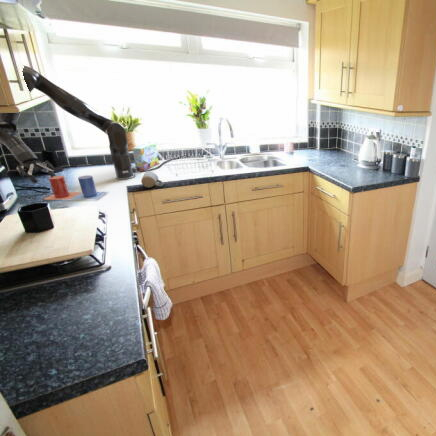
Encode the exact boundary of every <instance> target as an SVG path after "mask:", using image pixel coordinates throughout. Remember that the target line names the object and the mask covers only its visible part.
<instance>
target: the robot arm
mask: <svg viewBox="0 0 436 436" xmlns="http://www.w3.org/2000/svg"><path fill="white" fill-rule="evenodd" d="M23 66H24V68H23V71H22V72H23V76H24V80H25V82H26V84H27V87H28V89H29V91H30V93H32V91H34V89H35V90H37V91H39V92H41V93H42V94H43V95H45V96H47V97H48V98H49V99H50V100H51V101H52V102H54V104H56V105H57V106H58V107H59V108H60V109H62V110H64V111H65V112H67V113H68V114H70V115H72V116H73V117H76V118H78V119H79V120H81V121H84V122H86V123H89V124H91V125H92V126H94V127H96V128H97V129H99V130H100V131H102V132H103V133H104V134H106V135H107V138H108V142H109V143H108V144H109V146H108V147H109V152H110V156H111V160H112V165H113V168H114V173H115V178H116V179H117V180H129V179H132V178H134V177H135V175H134V174H136V173H137V171H138V172H139V173H146V172H152V171H155V170H157V169H159V168H160V167H162V166H163V165H164V164H165V163H167V162H169V161H173V160H178V159H181V158H184V157H187V158H188V157H189V156H188V155H187V154H184V155H181V156H178V157H173V158H170V159H168V160H166V161H163V162H162V163H161V164H159V165H158V166H157V167H156V166H155V167H153V168H149V169H146V170H144V171H140V170H137V169H136V167H133V165H132V161H131V156H130V152H129V147H128V146H129V142H128V137H127V133H126V128H125V127H124V126H123V124H121V123H119V122H117V121H114V120H112V119H110V118H108V117H106V116H104V115H103V114H100V112H98V111H97V110H95V109H94V108H93V107H92V106H90V105H89V104H88V103H87V102H85V101H83V100H82V99H80V98H78V97H77V96H75V95H74V94H71V93H70V92H68V91H67V90H66V89H64V88H62V87H60V86H58V85H57V84H56V83H53V82H52V81H51V80H50V79H48V78H46V77H45V76H43V75H42V74H41V73H40V72H38V71H37V70H35V69H34V68H32V67H30V66H27V65H23ZM21 114H22V111H21V112H19V113H0V121H2V122H0V143H1V144H3V145H4V146H5V147H6V148H7V150H9V152H10V153H11V155H12V156H13V157H14V158H15V160H16V161H17V162H18V163H19V164H20V165H19V164H18V165H17V166H16V168H15V169H16V171H17V172H18V173H19V175H20V176H21V177H22V178H23V179H24V178H28V179H29V180H30V181H31V183H34V184H37V183H38V180H37V178H36V177H35V176H34V175H33V173H41V172H43V173H46V174H48V175H49V177H53V176H57V175H56V174H55V173H54V172H55V170H56V168H55V166H54V165H53V164H52V163H51V162H50V161H49V160H45V161H43V162H42V161H41V160H40V158H39V157H38V156H37V155H36V154H35V153H34V151H33V150H31V148H30V147H29V146H27V144H26V143H25V142H24V141H23V140H22V138H20V137H19V136H17V133H18V120H19V118H20V116H21ZM25 170H26V171H27V172H26V171H25Z"/></svg>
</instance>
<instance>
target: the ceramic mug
mask: <svg viewBox="0 0 436 436" xmlns="http://www.w3.org/2000/svg"><path fill="white" fill-rule="evenodd" d="M140 182H141V185H142V186H143V187H144V188H147V189H151V188H154V187H163V186H164V181H162V180H160V179H159V177H158V175H157V174H156V173H155V172H153V171H146V172H144V174H143V176H141V181H140Z"/></svg>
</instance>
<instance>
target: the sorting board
mask: <svg viewBox="0 0 436 436" xmlns="http://www.w3.org/2000/svg"><path fill="white" fill-rule="evenodd" d="M105 193H107V191H97V196H95V197H90V198H85V197H83V193H82V191H69V194H70V195H69V196H68V197H64V198H55V196H54V193H53V194H51V195H48V197H46V198H44V199H43V200H44V201H50V200H51V201H53V200H54V201H55V200H57V201H58V200H97V199H99V198H100V197H102V196H104V194H105Z"/></svg>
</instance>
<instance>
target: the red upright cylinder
mask: <svg viewBox="0 0 436 436" xmlns="http://www.w3.org/2000/svg"><path fill="white" fill-rule="evenodd" d="M48 180H49V183H50V187H51V190H52V193H53V194H54V196H55V198H64V197H68V196H69V195H70V194H69V192H70V191H69V188H68V185H67V182H66V177H65V176H64V175H56V176H53V177H51V176H49V177H48Z"/></svg>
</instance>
